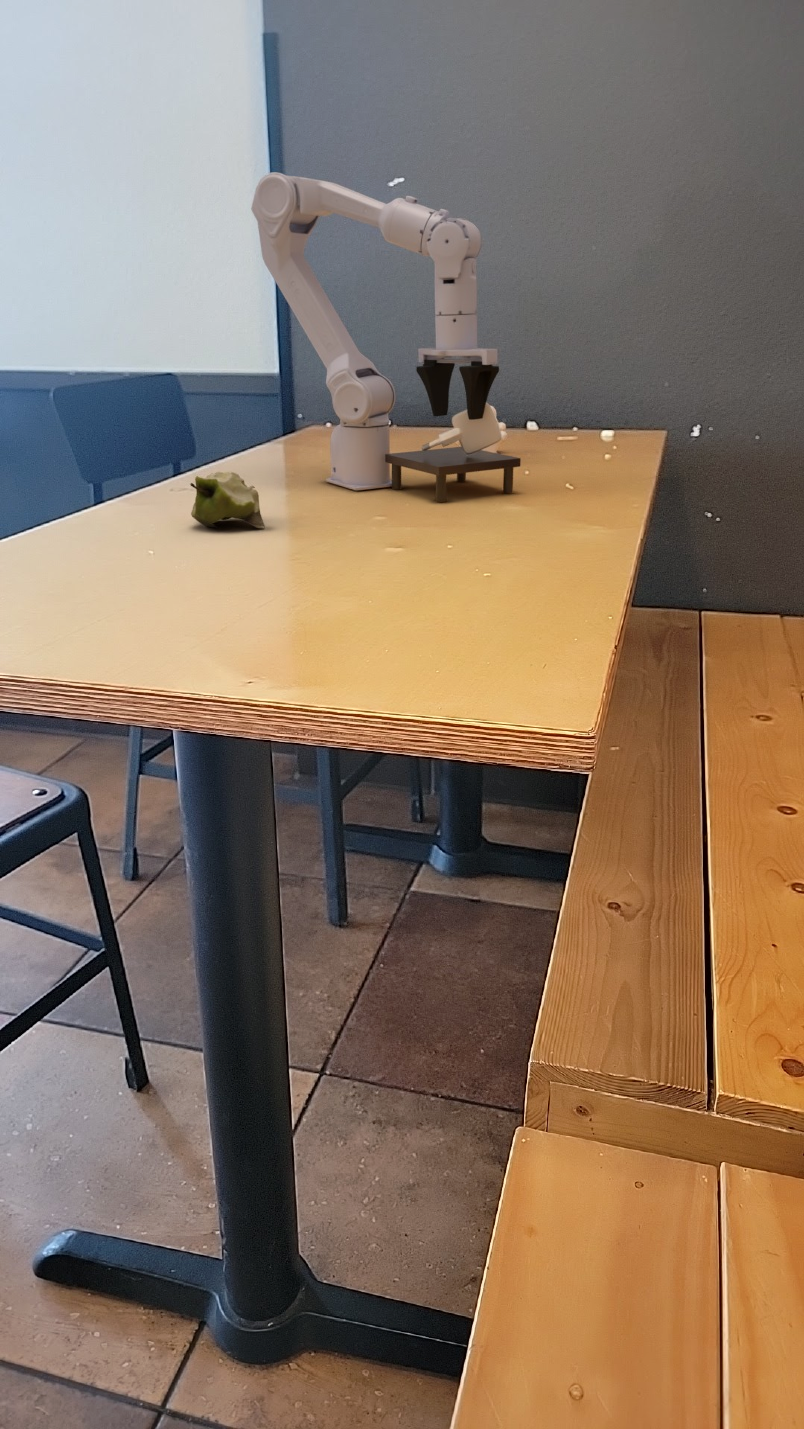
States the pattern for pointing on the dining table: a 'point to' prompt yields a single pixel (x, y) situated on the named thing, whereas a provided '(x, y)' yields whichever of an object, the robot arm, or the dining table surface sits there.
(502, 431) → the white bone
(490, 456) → the stool
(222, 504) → the fruit
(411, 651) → the dining table surface
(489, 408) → the power adapter
